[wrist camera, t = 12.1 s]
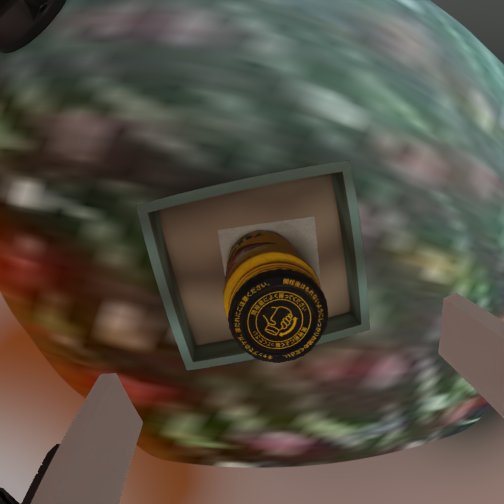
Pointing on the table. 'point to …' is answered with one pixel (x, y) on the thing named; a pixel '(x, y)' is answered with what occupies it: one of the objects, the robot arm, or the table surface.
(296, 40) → the table surface
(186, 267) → the shallow square tray
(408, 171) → the table surface
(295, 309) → the condiment
